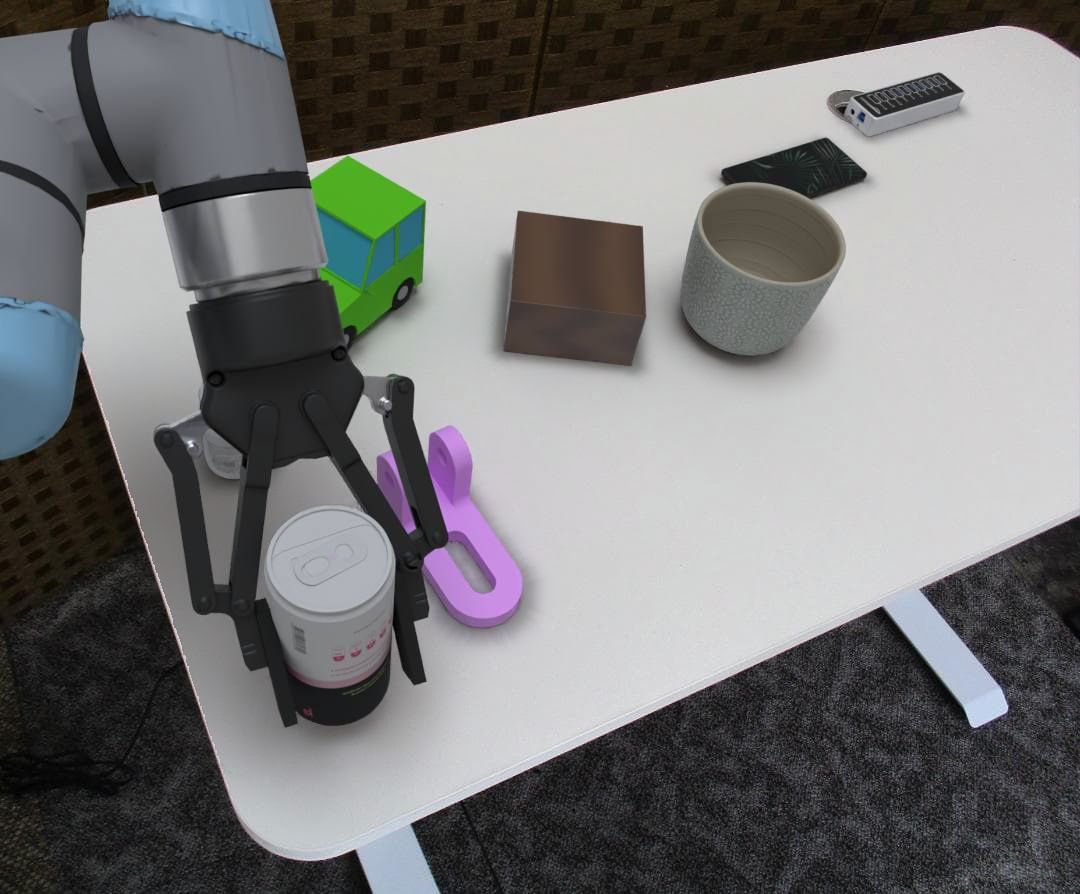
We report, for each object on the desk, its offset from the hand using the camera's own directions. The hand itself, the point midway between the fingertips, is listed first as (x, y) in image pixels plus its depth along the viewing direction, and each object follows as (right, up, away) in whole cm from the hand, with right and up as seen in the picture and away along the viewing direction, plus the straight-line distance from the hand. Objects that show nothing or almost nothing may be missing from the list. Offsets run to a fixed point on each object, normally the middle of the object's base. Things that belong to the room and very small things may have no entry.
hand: (352, 694), depth 56 cm
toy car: (-7, +25, +29) cm, 39 cm away
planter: (+28, +25, +34) cm, 50 cm away
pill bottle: (-12, +13, +19) cm, 26 cm away
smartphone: (+37, +42, +47) cm, 73 cm away
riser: (+13, +26, +32) cm, 43 cm away
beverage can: (-2, -1, +6) cm, 7 cm away
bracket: (+4, +6, +16) cm, 18 cm away
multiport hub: (+52, +52, +58) cm, 93 cm away
